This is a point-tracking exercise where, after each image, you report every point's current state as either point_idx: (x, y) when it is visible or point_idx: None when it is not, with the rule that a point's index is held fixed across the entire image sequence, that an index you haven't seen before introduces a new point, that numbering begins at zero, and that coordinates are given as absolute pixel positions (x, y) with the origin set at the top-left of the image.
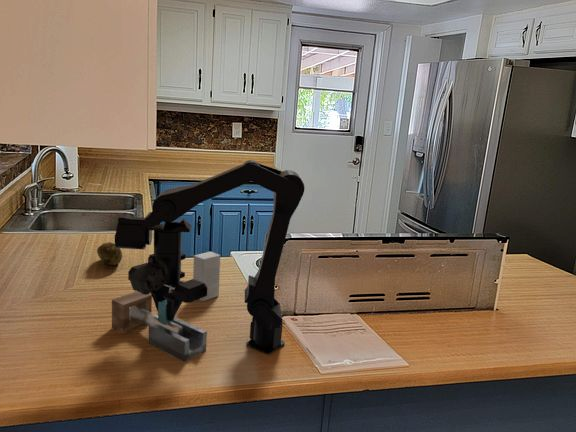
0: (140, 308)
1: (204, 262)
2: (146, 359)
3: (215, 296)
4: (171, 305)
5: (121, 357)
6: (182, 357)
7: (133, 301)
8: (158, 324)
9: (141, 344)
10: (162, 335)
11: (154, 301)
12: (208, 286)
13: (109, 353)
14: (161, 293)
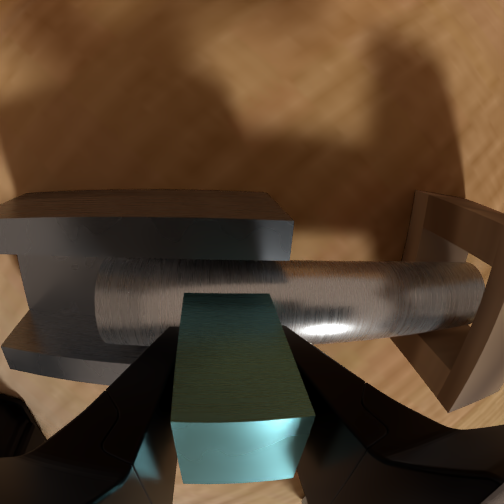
0: (447, 318)
1: None
2: (158, 83)
3: (304, 497)
4: (67, 425)
5: (269, 26)
6: (27, 196)
7: (500, 308)
8: (255, 278)
9: (289, 167)
10: (143, 208)
11: (369, 390)
12: None
13: (338, 27)
14: (346, 499)
